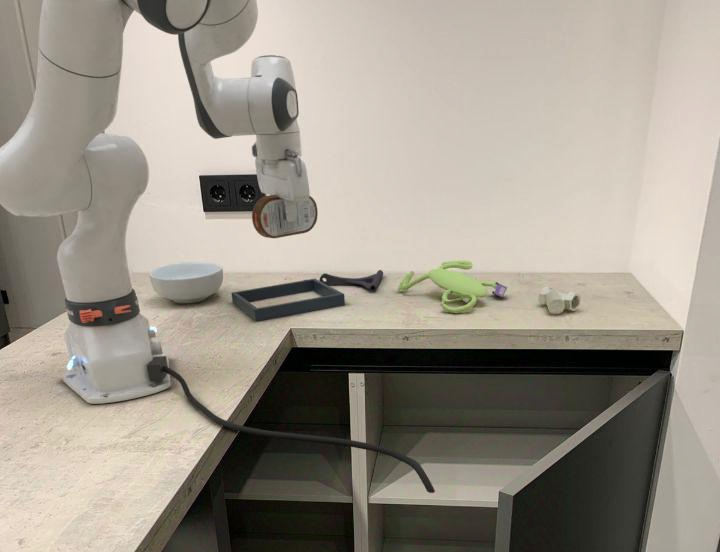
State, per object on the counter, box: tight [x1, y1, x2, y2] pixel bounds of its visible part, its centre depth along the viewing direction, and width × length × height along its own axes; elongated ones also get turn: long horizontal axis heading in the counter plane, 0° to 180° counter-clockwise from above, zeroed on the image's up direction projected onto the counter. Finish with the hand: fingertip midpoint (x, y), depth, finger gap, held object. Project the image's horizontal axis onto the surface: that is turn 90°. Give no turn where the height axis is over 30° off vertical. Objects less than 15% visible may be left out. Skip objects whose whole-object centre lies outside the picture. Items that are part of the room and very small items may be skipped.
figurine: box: [397, 260, 508, 314], centre depth 165 cm, size 18×27×6 cm
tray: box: [230, 278, 346, 322], centre depth 167 cm, size 17×21×2 cm
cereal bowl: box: [148, 261, 224, 304], centre depth 173 cm, size 17×17×7 cm
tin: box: [251, 195, 319, 239], centre depth 154 cm, size 15×3×8 cm, turn 127°
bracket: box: [318, 269, 384, 293], centre depth 179 cm, size 14×15×3 cm
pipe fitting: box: [538, 286, 582, 315], centre depth 152 cm, size 8×4×7 cm
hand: (286, 219), depth 155 cm, fingers closed on tin, 3 cm apart
